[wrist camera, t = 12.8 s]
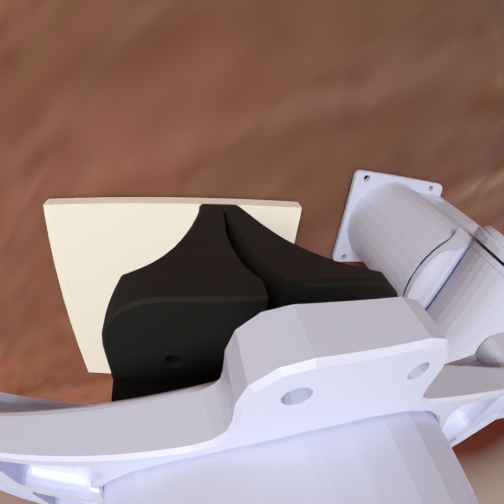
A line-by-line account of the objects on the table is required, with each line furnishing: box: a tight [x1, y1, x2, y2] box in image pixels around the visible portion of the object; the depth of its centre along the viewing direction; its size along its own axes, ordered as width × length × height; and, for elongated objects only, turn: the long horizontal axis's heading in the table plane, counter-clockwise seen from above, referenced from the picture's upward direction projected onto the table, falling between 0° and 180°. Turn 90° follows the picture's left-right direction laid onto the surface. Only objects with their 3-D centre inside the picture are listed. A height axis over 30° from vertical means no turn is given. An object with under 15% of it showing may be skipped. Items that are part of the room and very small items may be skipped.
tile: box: [43, 197, 302, 373], centre depth 25 cm, size 18×18×1 cm
